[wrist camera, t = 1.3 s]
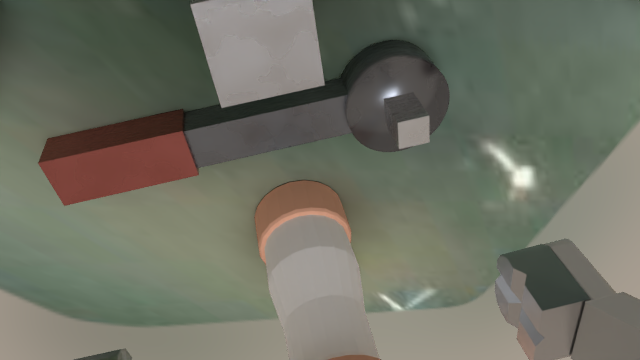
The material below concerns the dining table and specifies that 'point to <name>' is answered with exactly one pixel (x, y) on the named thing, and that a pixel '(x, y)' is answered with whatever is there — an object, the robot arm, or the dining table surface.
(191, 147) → the ratchet
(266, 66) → the light grey cube
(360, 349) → the pepper shaker
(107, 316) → the dining table surface
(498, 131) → the dining table surface
